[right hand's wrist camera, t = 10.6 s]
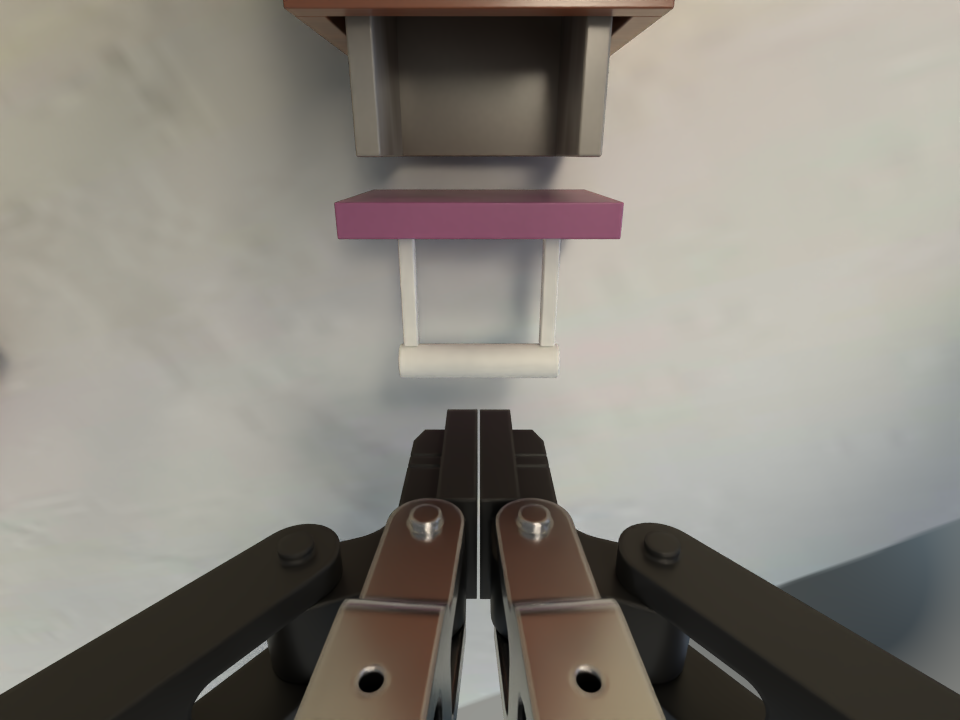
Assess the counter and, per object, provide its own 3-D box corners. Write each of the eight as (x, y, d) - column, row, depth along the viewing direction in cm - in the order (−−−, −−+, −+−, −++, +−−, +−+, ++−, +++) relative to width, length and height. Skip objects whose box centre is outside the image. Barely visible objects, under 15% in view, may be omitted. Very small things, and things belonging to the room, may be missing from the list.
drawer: (574, 342, 26) (604, 401, 20) (384, 342, 26) (353, 401, 20) (607, -127, 19) (670, -263, 13) (350, -127, 19) (287, -263, 13)
